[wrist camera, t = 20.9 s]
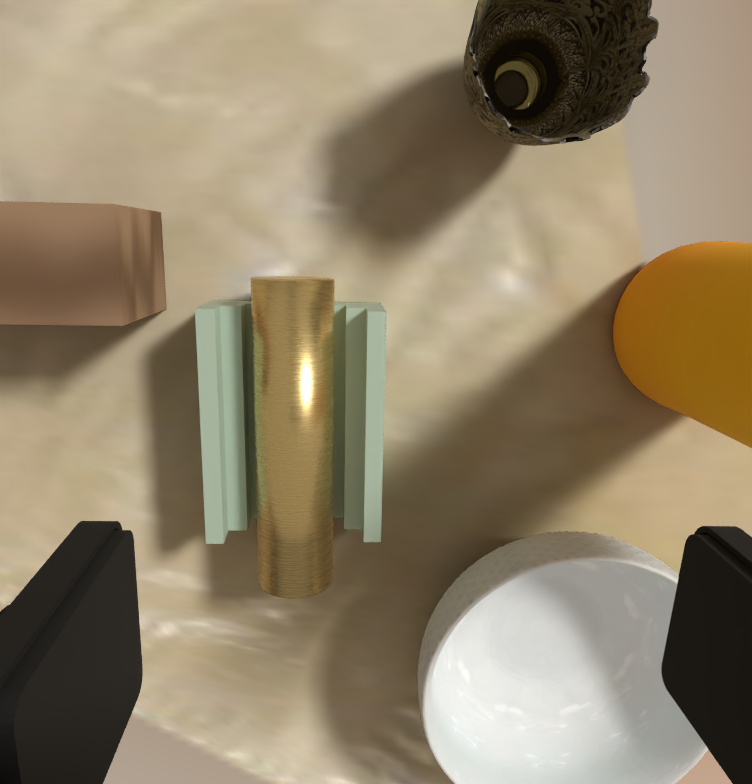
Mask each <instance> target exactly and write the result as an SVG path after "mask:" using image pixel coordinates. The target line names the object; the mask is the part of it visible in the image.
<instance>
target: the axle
mask: <svg viewBox="0 0 752 784" xmlns="http://www.w3.org/2000/svg"><path fill="white" fill-rule="evenodd" d="M251 308H252V347H253V387H254V427H255V466H256V506H257V546H258V582H259V585H260V587H261V588H262V589H263V590H264V591H265V592H267V593H269V594H271V595H274V596H277V597H282V598H303V597H308V596H312V595H315V594H317V593H320V592H322V591H323V590H325V589H326V588H327V587H328V586H329V585H330V584H331V582H332V580H333V449H334V279H331V278H320V277H289V276H276V277H254V278H251Z"/></svg>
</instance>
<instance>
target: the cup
mask: <svg viewBox="0 0 752 784" xmlns="http://www.w3.org/2000/svg"><path fill="white" fill-rule="evenodd" d="M651 5H652V0H479V1H478V3H477V6H476V10H475V14H474V19H473V23H472V27H471V30H470V34H469V37H468V41H467V46H466V51H465V56H464V68H463V71H464V86H465V90H466V95H467V98H468V101H469V103H470V105H471V108H472V110H473V111H474V113H475V115H476V116H477V118H478V119H479V120H480V122H481V123H482V124H483V125H484V126H485V127H486V128H487V129H488V130H489V131H491V132H492V133H493V134H495V135H496V136H498V137H500V138H502V139H504V140H506V141H509V142H512V143H516V144H521V145H533V146H534V145H550V144H559V143H566V142H573V141H583V140H586V139H589V138H590V137H591V136H590V135H592V134H594V133H596V132H599V131H601V130H604V129H606V128H608V127H610V126H612V125H614V124H615V123H617V122H619V121H620V120H621V119H623V118H624V117H625V116H626V114H627V113H628V111H629V110H630V107H631V104H632V101H633V99H634V98H635V97H637V96H638V95H639V94H641V92H642V91H643V90H644V89H645V88H646V86H647V85H648V83H649V79H650V77H649V76H648V75H647V73H646V72H644V73H643V71H642V67H643V66H644V64H645V62H646V59H647V57H646V55H645V52H646V47H647V45H648V44H649V43H650V41H651V40H653V39H655V38H656V36H657V31H658V25H659V24H658V21H657V19H655V18H653V17H651V16H649V15H650V9H651ZM507 72H517V73H519V74H521V75H522V76H523V77H524V79H525V80H526V83H527V94H526V96H525V98H524V100H523V101H522V102H521V103H520V104H518V105H516V106H507V105H505V104H504V103H503V102H502V101H501V100H500V98H499V97H498V95H497V92H496V85H497V82H498V80H499V78H500V77H501V76H502V75H504V74H505V73H507ZM641 74H642V75H641Z"/></svg>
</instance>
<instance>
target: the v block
mask: <svg viewBox="0 0 752 784" xmlns="http://www.w3.org/2000/svg"><path fill="white" fill-rule="evenodd" d="M195 323H196V344H197V365H198V387H199V408H200V430H201V451H202V472H203V494H204V515H205V537H206V544H224V541H225V539H226V536H227V533H228V531H239V530H248V527H249V524H250V520H251V518H257V506H256V466H255V427H254V387H253V347H252V308H251V301H222V300H213V301H211V302H209V303H207V304H204V305H202V306H200V307H198V308H196V309H195ZM385 354H386V310H385V309H384V308H383V306H382V305H381V303H357V302H334V449H333V518H344V530H353V529H363V540H364V542H381V518H382V477H383V436H384V395H385Z"/></svg>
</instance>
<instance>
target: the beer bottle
mask: <svg viewBox="0 0 752 784" xmlns="http://www.w3.org/2000/svg"><path fill="white" fill-rule="evenodd" d="M613 344H614V348H615V353H616V357H617V359H618V362H619V364H620V366H621V369H622V370H623V372H624V373H625V375H626V376H627V378H628V379H629V380H630V382H631V383H632V384H633V385H634V386H635V387H636V388H638V389H639V390H640V391H641V392H642V393H643V394H644V395H646V396H647V397H649V398H651V399H652V400H654V401H655V402H657V403H659V404H660V405H662V406H665V407H667V408H669V409H672V410H674V411H677V412H679V413H681V414H684V415H686V416H688V417H690V418H692V419H694V420H696V421H698V422H700V423H702V424H704V425H706V426H708V427H710V428H712V429H714V430H716V431H718V432H720V433H722V434H724V435H726V436H728V437H730V438H733V439H735V440H737V441H739V442H741V443H743V444H745V445H747V446H749V447H751V448H752V243H740V242H739V243H738V242H722V241H720V242H700V243H695V244H690V245H685V246H681V247H678V248H676V249H673V250H671V251H669V252H666V253H664V254H662V255H660V256H659V257H657V258H655V259H654V260H652V261H651V262H649V263H648V264H647V265H646V266H645V267H644V268H643V269H641V270H640V271H639V272H638V273H637V274H636V276H635V277H634V278H633V279H632V281H631V282H630V283H629V284H628V286H627V288H626V290H625V291H624V293H623V295H622V297H621V299H620V301H619V304H618V307H617V310H616V313H615V319H614V325H613Z"/></svg>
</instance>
